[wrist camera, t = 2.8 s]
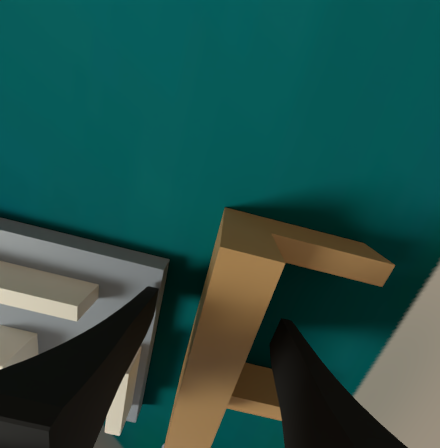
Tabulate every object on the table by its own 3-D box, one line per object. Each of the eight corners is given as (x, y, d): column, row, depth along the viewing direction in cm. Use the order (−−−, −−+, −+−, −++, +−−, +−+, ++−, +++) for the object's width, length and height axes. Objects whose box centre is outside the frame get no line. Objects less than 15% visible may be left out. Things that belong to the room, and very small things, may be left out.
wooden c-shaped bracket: (363, 243, 12) (452, 305, 7) (288, 385, 16) (312, 485, 11) (224, 207, 12) (219, 246, 7) (183, 360, 15) (162, 452, 11)
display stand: (141, 404, 17) (121, 462, 14) (-67, 358, 17) (-137, 406, 14) (169, 259, 13) (148, 296, 10) (-118, 188, 12) (-242, 201, 9)
